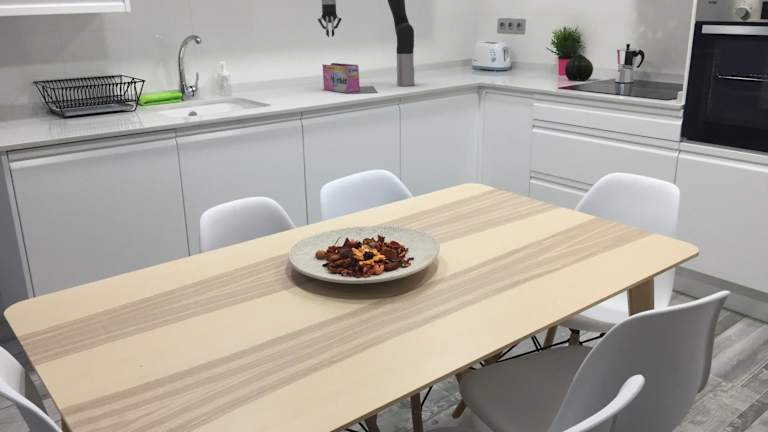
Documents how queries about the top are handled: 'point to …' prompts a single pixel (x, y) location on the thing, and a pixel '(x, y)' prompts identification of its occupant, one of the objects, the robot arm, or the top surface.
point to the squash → (578, 68)
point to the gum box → (341, 77)
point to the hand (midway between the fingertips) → (330, 36)
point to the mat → (366, 90)
